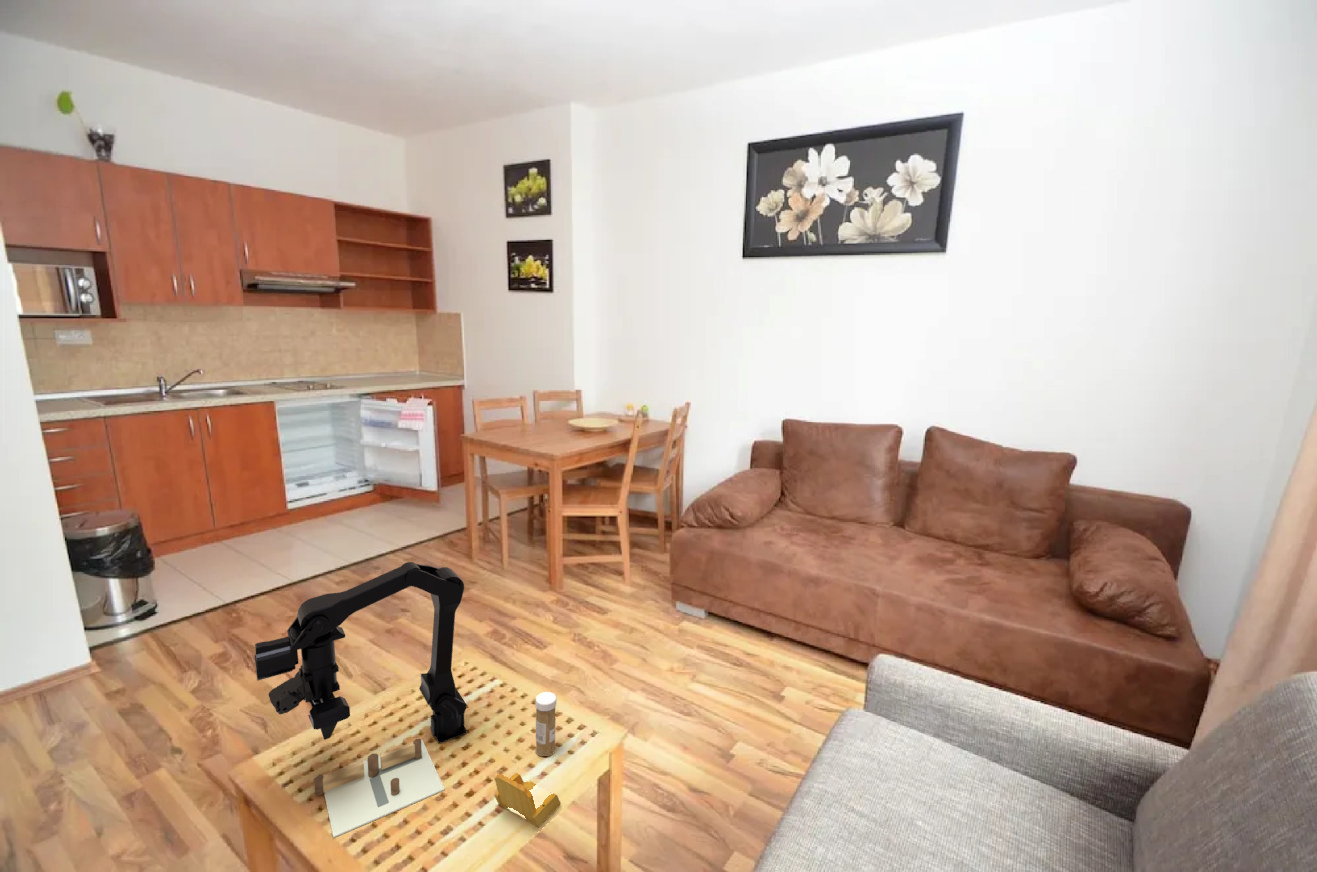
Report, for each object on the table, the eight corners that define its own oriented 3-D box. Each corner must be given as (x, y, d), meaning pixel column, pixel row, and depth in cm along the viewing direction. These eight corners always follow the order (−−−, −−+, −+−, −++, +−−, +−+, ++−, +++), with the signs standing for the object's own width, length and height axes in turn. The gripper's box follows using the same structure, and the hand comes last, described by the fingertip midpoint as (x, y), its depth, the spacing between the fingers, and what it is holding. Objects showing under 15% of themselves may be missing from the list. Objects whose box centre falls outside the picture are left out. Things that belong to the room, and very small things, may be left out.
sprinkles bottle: (558, 753, 128) (559, 699, 126) (539, 760, 126) (540, 706, 123) (550, 740, 132) (551, 688, 130) (531, 747, 130) (532, 694, 127)
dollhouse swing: (562, 802, 116) (563, 762, 114) (530, 837, 107) (531, 794, 106) (523, 780, 121) (523, 742, 119) (490, 812, 112) (489, 771, 111)
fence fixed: (420, 753, 126) (419, 736, 125) (432, 781, 119) (431, 762, 118) (367, 774, 120) (366, 755, 119) (376, 804, 113) (375, 785, 112)
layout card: (422, 740, 130) (422, 739, 130) (444, 790, 117) (444, 788, 117) (321, 778, 118) (321, 776, 118) (333, 838, 105) (333, 836, 105)
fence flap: (363, 772, 119) (362, 758, 118) (364, 777, 118) (364, 763, 117) (314, 790, 114) (313, 777, 113) (315, 796, 113) (314, 782, 112)
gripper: (263, 654, 115) (269, 723, 118) (279, 701, 101) (285, 778, 104) (325, 636, 122) (329, 701, 125) (348, 678, 109) (352, 750, 112)
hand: (323, 730), depth 116 cm, fingers open, 5 cm apart
